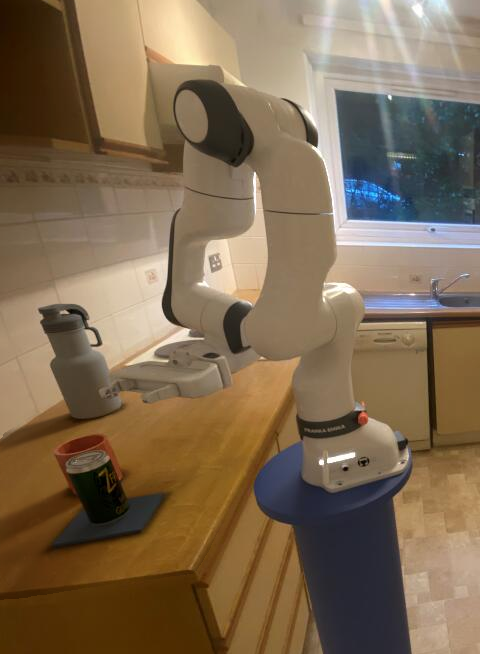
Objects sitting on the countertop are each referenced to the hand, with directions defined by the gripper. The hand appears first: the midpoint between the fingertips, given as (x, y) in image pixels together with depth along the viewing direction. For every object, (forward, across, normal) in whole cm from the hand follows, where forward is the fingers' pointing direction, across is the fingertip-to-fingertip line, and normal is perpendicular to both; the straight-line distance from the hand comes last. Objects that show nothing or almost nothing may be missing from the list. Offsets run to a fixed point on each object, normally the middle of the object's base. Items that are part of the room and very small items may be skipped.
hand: (123, 397), depth 75 cm
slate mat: (+8, -1, +20) cm, 22 cm away
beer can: (+8, -1, +20) cm, 21 cm away
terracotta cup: (+1, -14, +20) cm, 24 cm away
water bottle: (-22, -46, +19) cm, 55 cm away
